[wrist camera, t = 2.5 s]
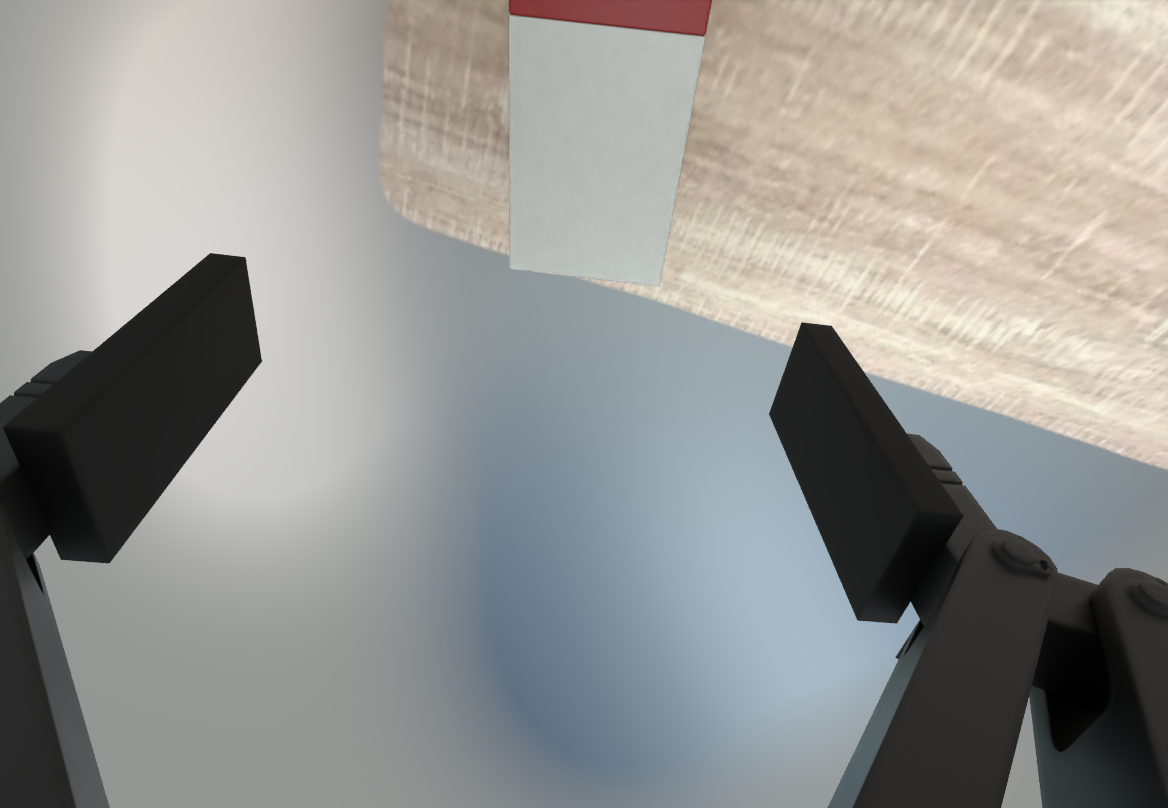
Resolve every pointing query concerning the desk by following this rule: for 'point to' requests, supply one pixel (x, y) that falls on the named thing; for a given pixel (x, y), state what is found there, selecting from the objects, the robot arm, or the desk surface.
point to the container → (599, 132)
